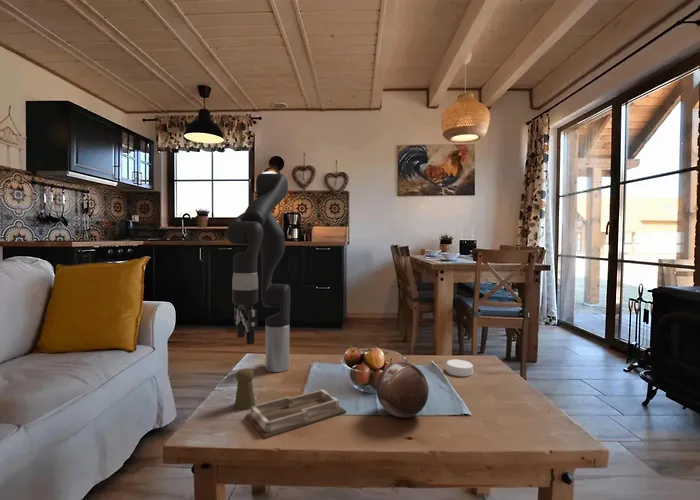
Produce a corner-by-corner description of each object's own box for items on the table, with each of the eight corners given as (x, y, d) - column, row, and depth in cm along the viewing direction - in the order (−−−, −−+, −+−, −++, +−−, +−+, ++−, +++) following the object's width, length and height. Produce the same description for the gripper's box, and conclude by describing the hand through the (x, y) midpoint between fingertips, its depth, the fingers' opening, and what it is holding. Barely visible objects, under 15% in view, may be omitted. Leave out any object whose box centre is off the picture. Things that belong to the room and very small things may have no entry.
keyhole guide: (246, 416, 104) (246, 405, 104) (321, 395, 118) (321, 386, 118) (264, 438, 93) (264, 426, 92) (345, 412, 107) (345, 402, 107)
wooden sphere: (366, 416, 105) (366, 365, 104) (392, 398, 116) (393, 352, 116) (413, 433, 95) (413, 377, 95) (436, 412, 107) (437, 362, 107)
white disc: (476, 377, 136) (476, 368, 135) (449, 377, 136) (449, 367, 136) (468, 367, 145) (468, 359, 145) (443, 367, 146) (443, 358, 146)
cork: (230, 407, 109) (230, 371, 109) (243, 399, 115) (243, 365, 115) (246, 411, 107) (246, 374, 107) (259, 403, 113) (259, 367, 112)
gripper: (225, 285, 113) (225, 337, 114) (240, 291, 102) (240, 348, 102) (249, 284, 118) (249, 333, 118) (266, 289, 106) (266, 344, 107)
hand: (245, 340), depth 110 cm, fingers open, 8 cm apart
